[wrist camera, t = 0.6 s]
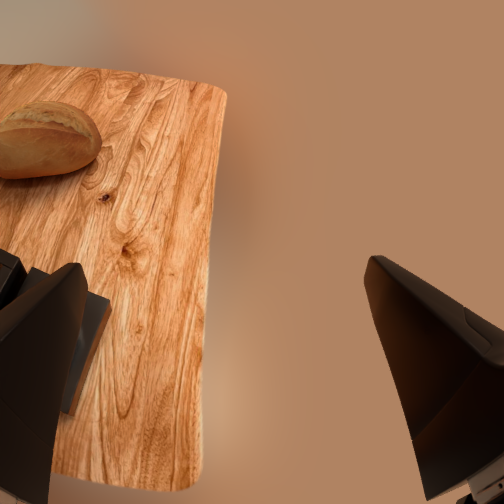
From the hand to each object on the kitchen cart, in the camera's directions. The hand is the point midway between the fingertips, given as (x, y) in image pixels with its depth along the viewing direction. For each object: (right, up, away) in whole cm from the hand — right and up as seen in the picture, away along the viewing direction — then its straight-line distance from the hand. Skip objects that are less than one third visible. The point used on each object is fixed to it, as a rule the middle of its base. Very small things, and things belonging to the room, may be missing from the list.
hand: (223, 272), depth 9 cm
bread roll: (-24, +11, +22) cm, 34 cm away
